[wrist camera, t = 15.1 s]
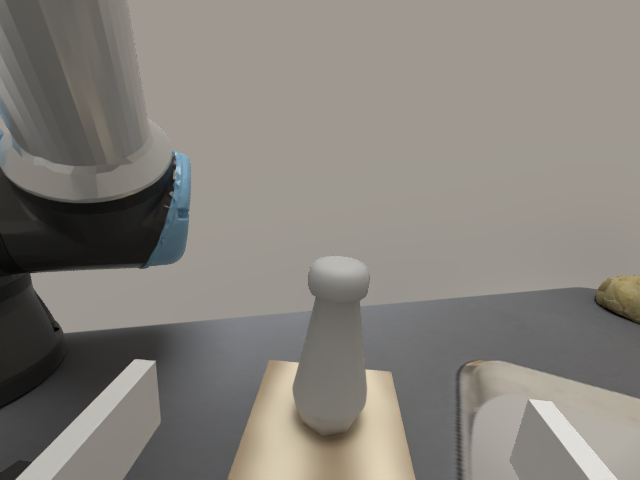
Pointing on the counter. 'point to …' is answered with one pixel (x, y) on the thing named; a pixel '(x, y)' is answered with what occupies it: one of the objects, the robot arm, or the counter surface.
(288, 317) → the counter surface
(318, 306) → the salt shaker
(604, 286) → the pastry
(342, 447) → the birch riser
